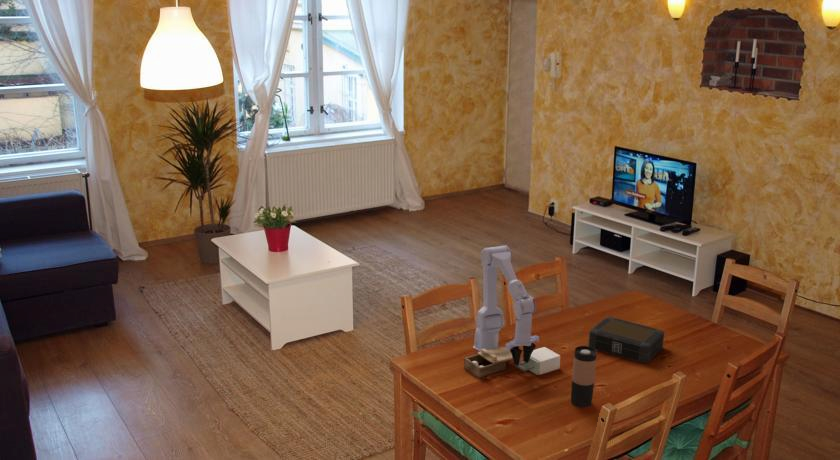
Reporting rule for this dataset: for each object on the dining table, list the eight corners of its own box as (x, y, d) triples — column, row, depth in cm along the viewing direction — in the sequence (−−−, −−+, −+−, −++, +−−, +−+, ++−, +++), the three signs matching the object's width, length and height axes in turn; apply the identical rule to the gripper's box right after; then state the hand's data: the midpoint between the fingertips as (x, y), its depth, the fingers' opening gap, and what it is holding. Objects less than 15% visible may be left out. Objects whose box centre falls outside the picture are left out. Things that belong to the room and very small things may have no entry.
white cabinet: (523, 368, 310) (524, 352, 308) (543, 362, 316) (544, 346, 314) (539, 377, 303) (540, 361, 301) (559, 371, 308) (560, 355, 306)
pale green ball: (475, 372, 304) (475, 365, 303) (482, 370, 306) (482, 363, 305) (480, 376, 302) (481, 368, 301) (487, 374, 304) (487, 366, 303)
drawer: (511, 371, 307) (512, 356, 305) (541, 362, 315) (542, 348, 313) (526, 380, 300) (527, 365, 298) (556, 371, 308) (557, 356, 306)
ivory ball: (468, 368, 308) (468, 360, 307) (475, 366, 310) (475, 358, 309) (473, 371, 305) (473, 363, 304) (480, 369, 307) (480, 362, 306)
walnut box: (463, 369, 308) (464, 358, 307) (488, 361, 315) (489, 351, 313) (479, 379, 300) (480, 368, 299) (505, 372, 307) (506, 360, 305)
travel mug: (567, 397, 289) (571, 345, 283) (588, 397, 290) (593, 345, 284) (573, 408, 282) (577, 355, 276) (594, 407, 282) (599, 355, 276)
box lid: (477, 354, 310) (477, 348, 310) (502, 347, 317) (502, 341, 316) (493, 364, 302) (494, 358, 302) (518, 356, 309) (519, 351, 308)
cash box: (585, 348, 329) (587, 331, 327) (605, 332, 345) (607, 315, 343) (646, 365, 315) (648, 347, 313) (663, 347, 331) (666, 330, 329)
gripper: (514, 337, 291) (512, 371, 295) (545, 328, 299) (543, 362, 303) (502, 330, 297) (500, 364, 301) (532, 322, 305) (530, 355, 308)
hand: (521, 363), depth 302 cm, fingers open, 4 cm apart
